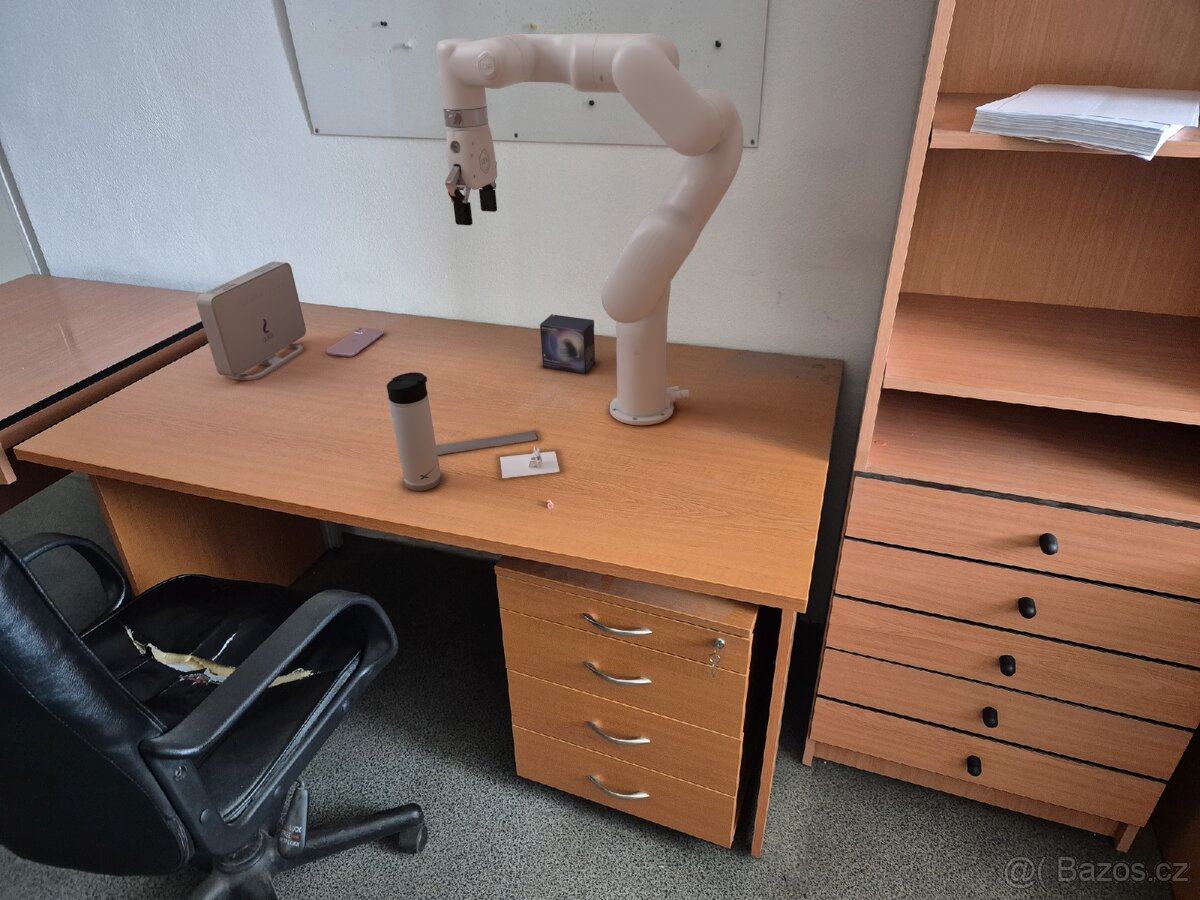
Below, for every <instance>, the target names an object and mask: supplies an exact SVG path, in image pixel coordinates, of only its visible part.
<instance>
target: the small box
mask: <svg viewBox="0 0 1200 900" xmlns="http://www.w3.org/2000/svg"><path fill="white" fill-rule="evenodd" d="M539 329H540V343H541V359H542V367H543V368H546V369H552V370H557V371H558V370H559V371H564V372H571V373H576V374H581V375H586V374H587V373H588V372H589V371H590V370H591V369H592V368H593V367H594V366H595V364H596V349H595V345H596V344H595V320H594V319H591V318H590V319H589V318H583V317H574V316H567V315H560V314H553V313H551V314H550V315H549V316H548V317H547V318H545V319H544V320H543V321H542V322H541V323H540V324H539Z"/></svg>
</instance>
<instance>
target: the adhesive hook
mask: <svg viewBox="0 0 1200 900" xmlns="http://www.w3.org/2000/svg"><path fill="white" fill-rule="evenodd" d="M540 451H541V450H540V448H539V447H538V446H533V451H532V453H531V454H532V456H529V457H528V460H529V464H528V467H529V468H533V467H537V468H540V467H541V465H542V463H543V458H542V456H541V453H542V452H540Z"/></svg>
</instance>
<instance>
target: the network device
mask: <svg viewBox="0 0 1200 900" xmlns="http://www.w3.org/2000/svg"><path fill="white" fill-rule="evenodd" d="M293 273H294V272H293V269H292V266H291V264H290V262H289V263H288V262H284V261H270V262H268V263H266V264H264V265H261V266H259V267H257V268H254V269H253V270H250V271H249V272H246V273H244V274H241V275H240V276H238V277H235V278H233V279H231V280H229V281H226V282H225V283H222V284H220V285H217V286H216V287H214V288H211V289H210V290H207V291H205V292H203V293H201V294H199V295H198V296H197V297H196V307H197V310H198V314H199V317H200V320H201V323H202V326H203V330H204V333H205V336H206V339H207V342H208V346H209V348H210V352H211V355H212V358H213V362H214V366H215V368H216V372H217V373H218V374H219V375H220V376H227V377H228V378H230V379H234V380H240V381H253V380H257V379H261V378H262V377H265V376H266V375H268V374H270V373H271V372H272V371H274V370H275V369H277V368H279V367H280V366H282V365H284V364H285V363H287V362H289V361H290V360H291V359H293V358H294V357H296V356H298V355H299V354H301V353H302V352H303V351H304V348H303V345H302V344H299V343H296V342H298V341H299V340H301V339H303V337H304V336H305V335H306V333H307V328H306V324H305V319H304V315H303V310H302V306H301V303H300V298H299V294H298V290H297V285H296V282H295V277H294V274H293ZM286 348H288V349H295V350H293V351H292V352H291V353H289V354H287V355H286V356H283V357H278V356H277V353H279V352H281V351H282V350H284V349H286ZM258 365H264V366H268V367H266V368H265V369H263V370H262V371H260V372H258V373H257V374H254V375H249V374H245V373H246V372H248V371H250V370H251V369H253V368H255V367H256V366H258Z"/></svg>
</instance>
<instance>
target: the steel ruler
mask: <svg viewBox="0 0 1200 900" xmlns="http://www.w3.org/2000/svg"><path fill="white" fill-rule="evenodd" d="M534 441H535V442H536V441H538V437H537V435H536V432H535V431H534V430H533V431H527V432H521V433H519V432H518V433H514V434H507V435H502V436H494V437H487V438H482V439H475V440H468V441H462V442H461V441H460V442H456V443H455V442H454V443H449V444H442V445H436V448H437V455H438V456H445V455H451V454H457V453H458V454H459V453H464V452H471V451H476V450H483V449H490V448H495V447H501V446H507V445H515V444H520V443H521V444H523V443H527V442H534Z"/></svg>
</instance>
